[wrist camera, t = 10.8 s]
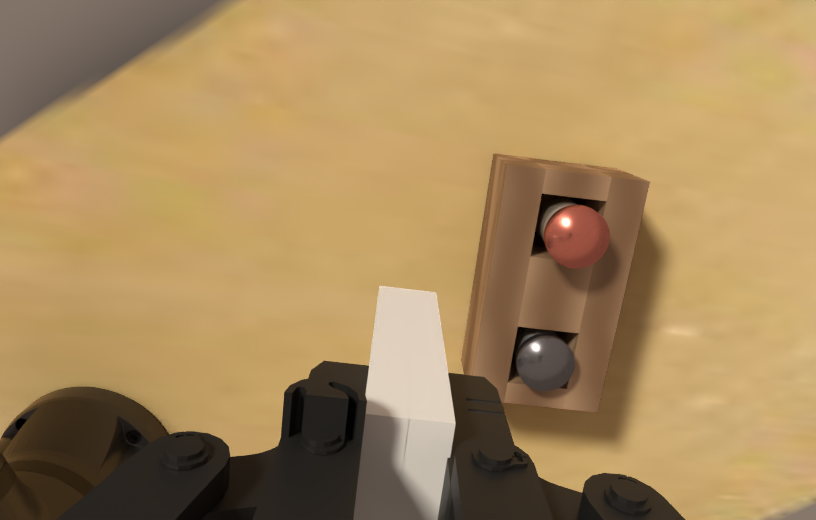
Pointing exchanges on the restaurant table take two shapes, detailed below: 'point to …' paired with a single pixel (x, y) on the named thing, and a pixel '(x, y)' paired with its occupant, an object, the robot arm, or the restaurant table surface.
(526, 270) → the block
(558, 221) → the plug red
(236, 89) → the restaurant table surface
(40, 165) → the restaurant table surface
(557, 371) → the plug grey
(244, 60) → the restaurant table surface
